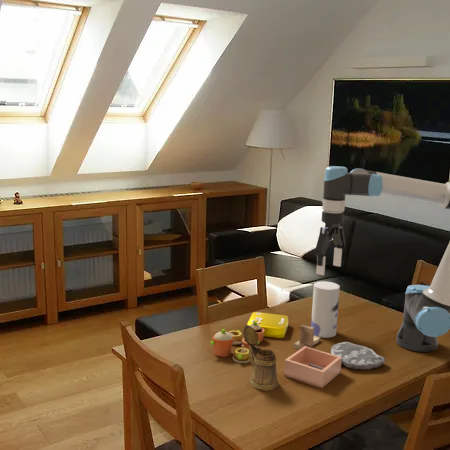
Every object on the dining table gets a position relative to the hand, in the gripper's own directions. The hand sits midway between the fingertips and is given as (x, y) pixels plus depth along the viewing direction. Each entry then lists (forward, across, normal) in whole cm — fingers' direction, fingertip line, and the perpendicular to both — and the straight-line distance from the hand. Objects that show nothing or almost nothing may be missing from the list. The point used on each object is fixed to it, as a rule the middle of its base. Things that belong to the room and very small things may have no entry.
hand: (328, 270), depth 205 cm
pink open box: (+32, +18, +5) cm, 37 cm away
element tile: (+32, -6, -27) cm, 43 cm away
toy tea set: (+32, +16, -26) cm, 44 cm away
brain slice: (+32, -1, +12) cm, 34 cm away
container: (+32, -17, -8) cm, 37 cm away
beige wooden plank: (+32, -3, -8) cm, 33 cm away
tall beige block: (+32, +8, -3) cm, 33 cm away
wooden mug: (+32, +34, -6) cm, 47 cm away
